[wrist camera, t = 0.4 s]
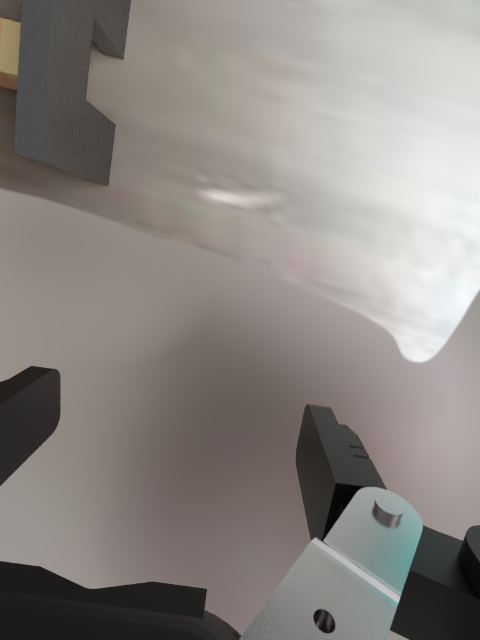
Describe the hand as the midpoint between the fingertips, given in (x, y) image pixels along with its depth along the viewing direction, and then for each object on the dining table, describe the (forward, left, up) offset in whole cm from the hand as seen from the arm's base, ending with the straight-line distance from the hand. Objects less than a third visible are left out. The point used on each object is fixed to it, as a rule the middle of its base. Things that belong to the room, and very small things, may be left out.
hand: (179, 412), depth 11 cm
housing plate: (-17, -16, -28) cm, 37 cm away
